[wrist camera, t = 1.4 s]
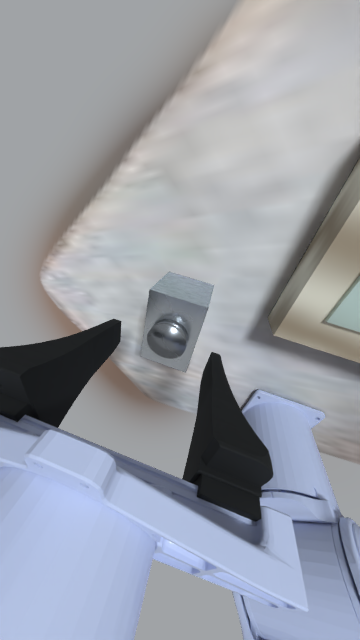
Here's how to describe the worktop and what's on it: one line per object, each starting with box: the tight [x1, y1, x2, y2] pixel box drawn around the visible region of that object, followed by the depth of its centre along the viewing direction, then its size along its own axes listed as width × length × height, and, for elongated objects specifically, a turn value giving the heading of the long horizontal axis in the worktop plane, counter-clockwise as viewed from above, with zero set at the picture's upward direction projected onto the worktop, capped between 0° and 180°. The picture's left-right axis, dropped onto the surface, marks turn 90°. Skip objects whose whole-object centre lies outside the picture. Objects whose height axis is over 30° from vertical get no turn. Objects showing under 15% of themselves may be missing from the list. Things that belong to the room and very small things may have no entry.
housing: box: [141, 272, 214, 373], centre depth 17 cm, size 7×4×6 cm, turn 167°
